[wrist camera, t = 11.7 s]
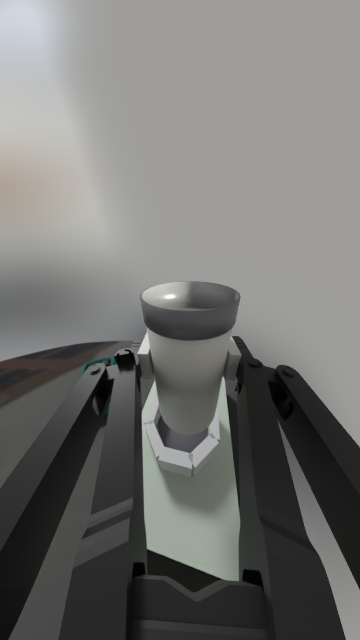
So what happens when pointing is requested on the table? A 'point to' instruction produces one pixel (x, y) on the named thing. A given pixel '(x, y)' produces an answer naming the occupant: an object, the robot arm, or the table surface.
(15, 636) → the table surface
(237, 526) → the octagonal ring base plate
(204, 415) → the white grey-capped cylinder
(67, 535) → the table surface
